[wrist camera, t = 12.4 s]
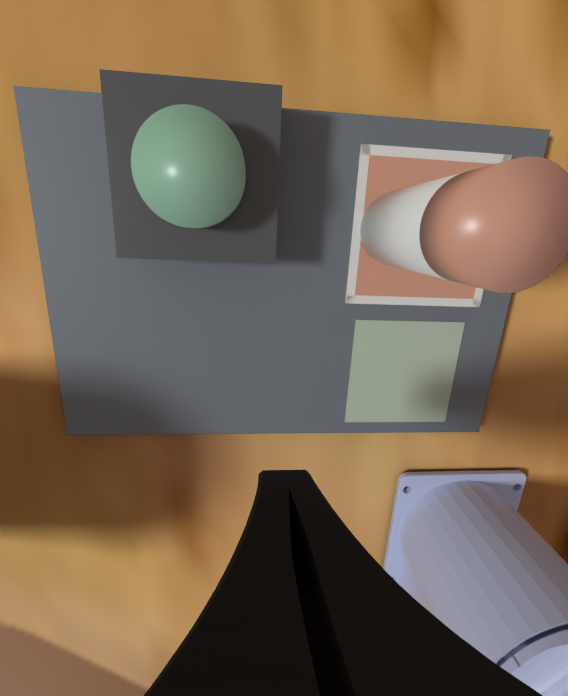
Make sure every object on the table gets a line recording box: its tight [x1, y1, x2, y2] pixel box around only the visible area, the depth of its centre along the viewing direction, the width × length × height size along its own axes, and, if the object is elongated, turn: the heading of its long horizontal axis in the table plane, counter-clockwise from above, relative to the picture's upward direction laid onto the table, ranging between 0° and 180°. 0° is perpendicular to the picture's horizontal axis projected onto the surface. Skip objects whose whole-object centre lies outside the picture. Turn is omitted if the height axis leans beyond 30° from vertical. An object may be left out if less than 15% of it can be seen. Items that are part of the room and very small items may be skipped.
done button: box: [131, 104, 246, 228], centre depth 12 cm, size 4×4×1 cm
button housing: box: [100, 69, 282, 264], centre depth 14 cm, size 6×6×2 cm
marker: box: [360, 156, 568, 293], centre depth 13 cm, size 3×3×8 cm
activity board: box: [14, 86, 550, 435], centre depth 17 cm, size 15×22×1 cm
